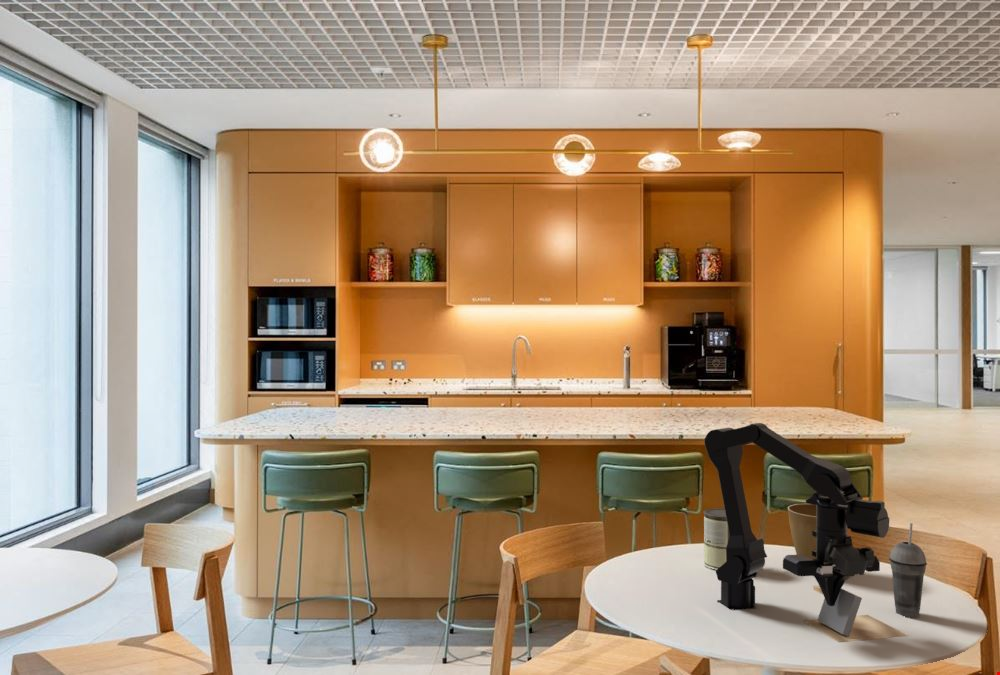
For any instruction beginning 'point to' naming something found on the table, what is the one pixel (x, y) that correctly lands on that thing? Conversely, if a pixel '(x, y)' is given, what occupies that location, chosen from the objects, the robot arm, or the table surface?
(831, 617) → the slate tile
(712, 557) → the coffee can
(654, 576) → the table surface
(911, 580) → the beverage cup
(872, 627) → the cork mat
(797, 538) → the plant pot
